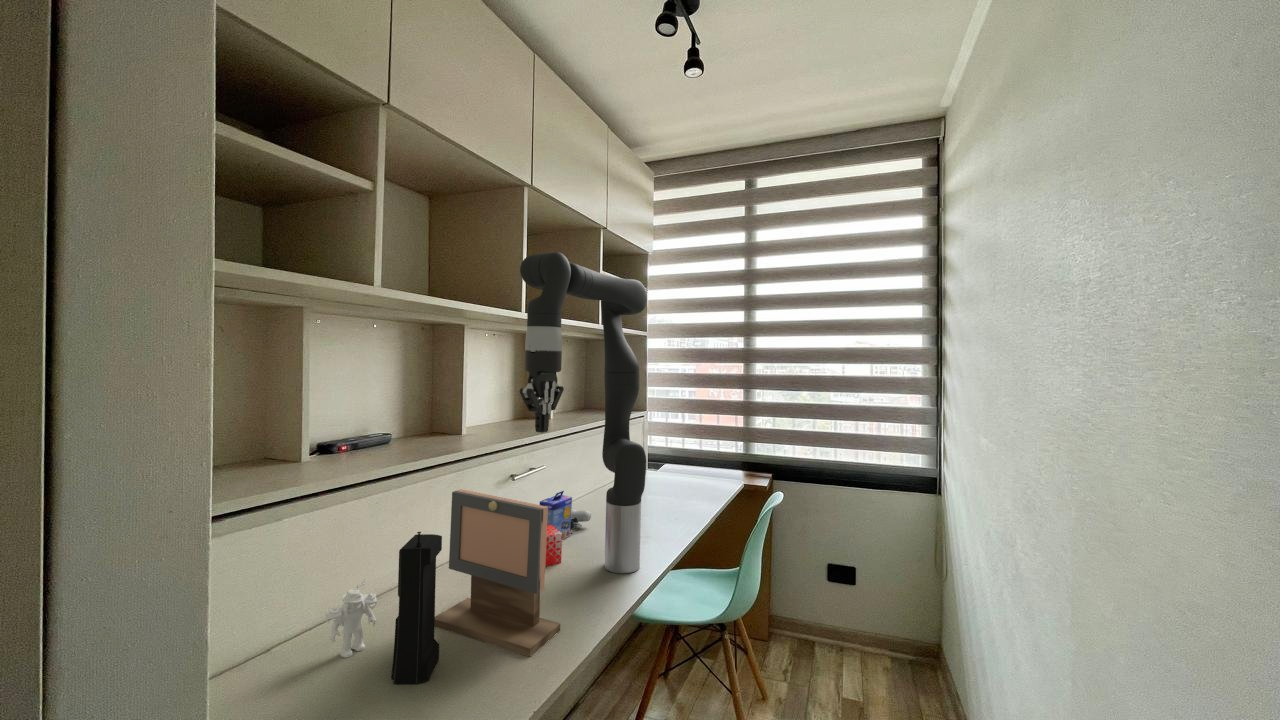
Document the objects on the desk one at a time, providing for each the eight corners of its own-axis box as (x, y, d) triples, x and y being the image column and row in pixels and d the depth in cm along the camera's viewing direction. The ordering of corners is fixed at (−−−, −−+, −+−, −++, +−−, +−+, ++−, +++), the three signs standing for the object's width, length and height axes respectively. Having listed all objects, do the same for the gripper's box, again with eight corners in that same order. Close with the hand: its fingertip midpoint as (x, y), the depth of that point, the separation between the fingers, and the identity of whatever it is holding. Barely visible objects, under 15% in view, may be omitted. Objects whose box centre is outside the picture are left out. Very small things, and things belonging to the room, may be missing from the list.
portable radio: (406, 657, 92) (410, 518, 92) (441, 656, 93) (444, 518, 93) (389, 685, 85) (392, 533, 84) (426, 684, 85) (430, 533, 85)
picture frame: (457, 564, 109) (460, 489, 108) (544, 588, 100) (548, 506, 99) (446, 569, 106) (450, 492, 106) (534, 595, 97) (538, 510, 97)
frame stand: (467, 604, 112) (470, 497, 112) (560, 630, 103) (563, 513, 103) (431, 625, 103) (434, 509, 103) (529, 656, 93) (533, 528, 93)
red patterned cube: (523, 557, 139) (524, 528, 139) (551, 553, 143) (551, 524, 143) (532, 568, 133) (533, 538, 132) (561, 563, 136) (562, 533, 136)
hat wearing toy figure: (370, 636, 99) (371, 574, 99) (381, 643, 97) (383, 579, 97) (320, 659, 91) (322, 591, 91) (331, 666, 89) (333, 597, 89)
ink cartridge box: (552, 546, 148) (553, 496, 148) (536, 542, 151) (538, 493, 151) (571, 536, 157) (573, 488, 157) (557, 532, 160) (558, 486, 160)
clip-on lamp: (532, 534, 166) (572, 534, 156) (528, 515, 167) (568, 513, 156) (557, 522, 176) (596, 521, 166) (553, 503, 176) (592, 501, 166)
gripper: (546, 349, 115) (545, 427, 115) (508, 348, 103) (506, 434, 103) (575, 350, 112) (573, 429, 112) (539, 348, 100) (537, 437, 100)
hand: (541, 431), depth 107 cm, fingers closed
